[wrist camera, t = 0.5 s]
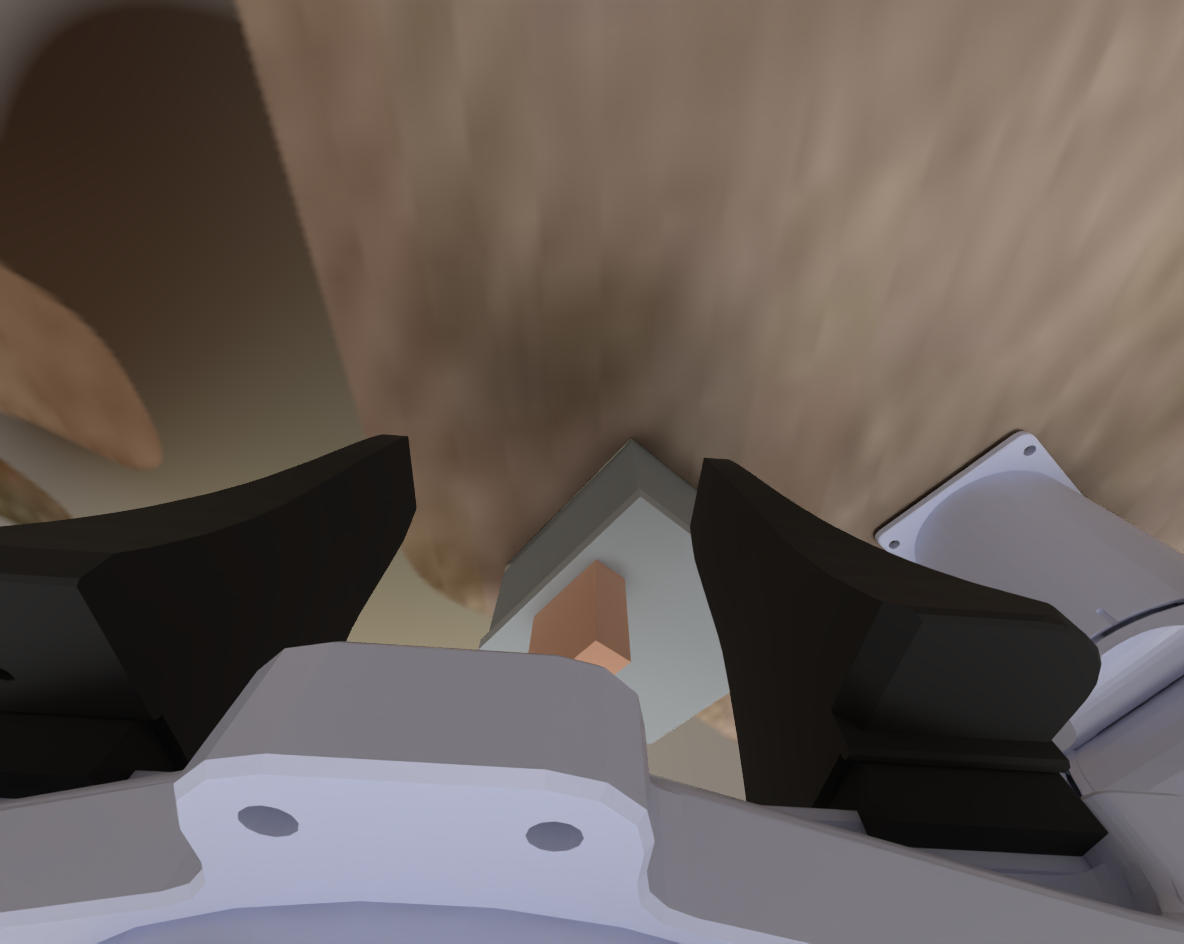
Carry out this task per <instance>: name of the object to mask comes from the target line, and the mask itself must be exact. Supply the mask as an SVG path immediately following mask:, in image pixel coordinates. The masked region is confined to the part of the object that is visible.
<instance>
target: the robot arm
mask: <svg viewBox="0 0 1184 944" xmlns="http://www.w3.org/2000/svg"><path fill="white" fill-rule="evenodd" d="M1028 446H1029V448H1028V449H1027V450H1025V449H1026V448H1027V447H1028ZM1024 450H1025V451H1024ZM416 508H417V507H416V499H415V490H414V482H413V473H412V465H411V457H410V448H409V440H408V436H397V435H378V436H374V437H371V438H368V439H365V440H362V441H360V442H357V443H354V444H352V445H349V446H347V447H344V448H342V449H339V450H337V451H334V452H332V453H329V454H327V455H324V456H322V457H319V458H317V459H314V460H312V461H309V462H306V463H303V464H301V465H298V466H296V467H292V468H290V469H287V470H284V471H281V472H279V473H276V474H273V475H270V476H268V477H265V478H262V479H258V480H255V481H252V482H249V483H246V484H242V485H239V486H235V487H231V488H228V489H224V490H221V491H217V492H213V493H209V494H206V495H201V496H196V497H192V498H187V499H182V500H178V501H173V502H169V503H164V504H159V505H155V506H150V507H145V508H139V509H134V510H128V511H122V512H116V513H110V514H103V515H96V516H89V517H82V518H75V519H67V520H59V521H51V522H41V523H32V524H22V525H12V526H2V527H0V944H1184V555H1183V554H1182V553H1180V552H1178V551H1177V550H1175V549H1173V548H1172V547H1170V546H1168V545H1166V544H1165V543H1163V542H1161V541H1160V540H1158V539H1156V538H1154V537H1153V536H1151V535H1149V534H1148V533H1146V532H1144V531H1143V530H1141V529H1139V528H1137V527H1136V526H1134V525H1132V524H1131V523H1129V522H1127V521H1125V520H1124V519H1122V518H1120V517H1119V516H1117V515H1115V514H1114V513H1112V512H1110V511H1108V510H1107V509H1105V508H1103V507H1102V506H1100V505H1098V504H1096V503H1095V502H1093V501H1091V500H1090V499H1088V498H1086V497H1084V496H1083V495H1082V494H1081V493H1080V491H1079V490H1078V489H1077V488H1076V486H1075V485H1074V484H1073V483H1072V482H1071V480H1070V479H1069V478H1068V477H1067V475H1066V474H1065V473H1064V472H1063V470H1062V469H1061V468H1060V467H1059V465H1058V464H1057V463H1056V462H1055V461H1054V459H1053V458H1052V457H1051V456H1050V454H1049V453H1048V452H1047V451H1046V449H1045V448H1044V447H1043V446H1042V445H1041V443H1040V442H1039V441H1038V440H1037V438H1036V437H1035V436H1034V435H1032V434H1031V433H1029V432H1027V431H1020V432H1017V433H1015V434H1013V435H1012V436H1010V437H1009V438H1007V439H1006V440H1005V441H1003V442H1002V443H1000V444H999V445H998V446H996V447H995V448H993V449H992V450H991V451H989V452H988V453H986V454H985V455H984V456H982V457H981V458H980V459H978V460H977V461H975V462H974V463H973V464H971V465H970V466H968V467H967V468H966V469H964V470H963V471H961V472H960V473H959V474H957V475H956V476H954V477H953V478H952V479H950V480H949V481H947V482H946V483H945V484H943V485H942V486H940V487H939V488H938V489H936V490H935V491H933V492H932V493H931V494H929V495H928V496H926V497H925V498H924V499H922V500H921V501H919V502H918V503H917V504H915V505H914V506H912V507H911V508H910V509H908V510H907V511H905V512H904V513H903V514H901V515H900V516H898V517H897V518H896V519H894V520H893V521H891V522H890V523H889V524H887V525H886V526H884V527H883V528H882V529H880V530H879V531H878V532H877V533H876V535H875V539H876V541H877V542H878V543H879V545H880V546H882V547H883V548H884V549H885V550H886V551H885V550H882V549H880V548H878V547H875V546H873V545H871V544H869V543H866V542H864V541H862V540H860V539H858V538H856V537H854V536H852V535H850V534H848V533H846V532H844V531H842V530H840V529H838V528H836V527H834V526H832V525H830V524H829V523H827V522H825V521H823V520H821V519H820V518H818V517H816V516H815V515H813V514H811V513H810V512H808V511H806V510H805V509H803V508H801V507H800V506H798V505H797V504H795V503H794V502H792V501H790V500H789V499H787V498H786V497H784V496H783V495H781V494H780V493H778V492H777V491H776V490H774V489H773V488H771V487H770V486H768V485H767V484H766V483H764V482H763V481H761V480H760V479H758V478H757V477H756V476H754V475H753V474H751V473H750V472H748V471H747V470H745V469H744V468H743V467H741V466H739V465H738V464H736V463H735V462H733V461H731V460H727V459H713V458H704V461H703V465H702V470H701V475H700V480H699V485H698V489H697V494H696V499H695V504H694V509H693V514H692V518H691V523H690V533H691V540H692V547H693V553H694V559H695V563H696V566H697V570H698V573H699V576H700V580H701V583H702V586H703V589H704V593H705V596H706V599H707V602H708V605H709V609H710V612H711V615H712V618H713V621H714V625H715V628H716V631H717V634H718V638H719V642H720V646H721V649H722V654H723V659H724V664H725V669H726V674H727V680H728V685H729V690H730V696H731V702H732V708H733V714H734V720H735V726H736V732H737V738H738V745H739V752H740V759H741V765H742V773H743V779H744V786H745V794H746V801H744V800H740V799H736V798H733V797H730V796H726V795H723V794H719V793H716V792H712V791H709V790H705V789H702V788H698V787H694V786H691V785H687V784H684V783H680V782H677V781H673V780H670V779H666V778H663V777H659V776H655V775H652V774H649V769H648V758H647V748H646V735H645V725H644V720H643V715H642V711H641V706H640V702H639V697H638V694H637V693H636V692H634V691H633V690H632V689H631V688H629V687H628V686H627V685H626V684H625V683H623V682H622V681H621V680H620V679H618V678H617V677H616V676H615V675H614V674H612V673H611V672H610V671H609V670H607V669H606V668H604V667H602V666H600V665H596V664H592V663H588V662H584V661H580V660H576V659H572V658H568V657H564V656H560V655H552V654H536V653H520V652H504V651H488V650H472V649H455V648H441V647H425V646H409V645H392V644H377V643H361V642H360V643H359V642H346V640H347V638H348V636H349V633H350V631H351V629H352V627H353V625H354V624H355V622H356V620H357V618H358V616H359V614H360V612H361V611H362V609H363V607H364V606H365V604H366V602H367V601H368V599H369V597H370V596H371V594H372V593H373V591H374V589H375V588H376V586H377V584H378V583H379V581H380V579H381V578H382V576H383V574H384V573H385V571H386V570H387V568H388V566H389V565H390V563H391V561H392V560H393V558H394V556H395V554H396V553H397V551H398V549H399V548H400V546H401V544H402V542H403V541H404V538H405V536H406V534H407V531H408V529H409V527H410V524H411V521H412V519H413V516H414V514H415V511H416ZM892 541H894V542H893V543H891V542H892ZM890 543H891V544H890Z"/></svg>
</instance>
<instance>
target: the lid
mask: <svg viewBox="0 0 1184 944" xmlns="http://www.w3.org/2000/svg"><path fill="white" fill-rule="evenodd" d="M478 650H488V651H504V652H520V653H536V654H552V655H560V656H564V657H568V658H572V659H576V660H580V661H584V662H588V663H592V664H596V665H600V666H602V667H604V668H606V669H607V670H609V671H610V672H611V673H612V674H614V675H615V676H616V677H617V678H618V679H620V680H621V681H622V682H623V683H625V684H626V685H627V686H628V687H629V688H631V689H632V690H633V691H634V692H636V693H637V694H638V697H639V702H640V706H641V711H642V715H643V720H644V725H645V735H646V743H648V744H652V743H653V742H655V741H656V740H658V739H659V738H661V737H662V736H664V735H665V734H667V733H668V732H670V731H671V730H673V729H674V728H676V727H678V726H679V725H681V724H682V723H683V722H685V721H686V720H688V719H690V718H691V717H693V716H694V715H696V714H697V713H699V712H700V711H702V710H703V709H705V708H706V707H708V706H709V705H711V704H712V703H714V702H715V701H717V700H718V699H720V698H721V697H723V696H725V695H726V694H728V693H729V692H730V690H729V685H728V680H727V674H726V669H725V664H724V659H723V654H722V649H721V646H720V642H719V638H718V634H717V631H716V628H715V625H714V621H713V618H712V615H711V612H710V609H709V605H708V602H707V599H706V596H705V593H704V589H703V586H702V583H701V580H700V576H699V573H698V570H697V566H696V563H695V559H694V553H693V547H692V540H691V533H690V527H689V526H688V525H687V524H685V523H684V522H683V521H681V520H680V519H679V518H678V517H676V516H675V515H674V514H672V513H671V512H670V511H668V510H667V509H666V508H665V507H663V506H662V505H661V504H659V503H658V502H657V501H655V500H654V499H653V498H652V497H650V496H649V495H648V494H646V493H645V492H644V491H642V490H641V489H640V488H639V489H638V490H636V491H635V492H634V493H633V494H632V495H631V496H630V497H629V498H628V499H627V500H626V501H625V502H624V503H623V504H622V505H621V506H620V507H619V508H618V509H617V510H616V511H615V512H613V513H612V514H611V515H610V516H609V517H608V518H607V519H606V520H605V521H604V522H603V523H602V524H601V525H600V526H599V527H598V528H597V529H596V530H595V531H594V532H593V533H592V534H590V535H589V536H588V537H587V538H586V539H585V540H584V541H583V542H582V543H581V544H580V545H579V546H578V547H577V548H576V549H575V550H574V551H573V552H572V553H571V554H570V555H569V556H568V557H566V558H565V559H564V560H563V561H562V562H561V563H560V564H559V565H558V566H557V567H556V568H555V569H554V570H553V571H552V572H551V573H550V574H549V575H548V576H547V577H546V578H545V579H543V580H542V581H541V582H540V583H539V584H538V585H537V586H536V587H535V588H534V589H533V590H532V591H531V592H530V593H529V594H528V595H527V596H526V597H525V598H524V599H523V600H522V601H520V602H519V603H518V604H517V605H516V606H515V607H514V608H513V609H512V610H511V611H510V612H509V613H508V614H507V615H506V616H505V617H504V618H503V619H502V620H501V621H500V622H499V623H497V624H496V625H495V626H494V627H493V628H492V629H491V630H490V631H489V632H488V633H487V634H486V635H485V636H484V637H483V638H482V639H481V641H480V645H479V649H478Z"/></svg>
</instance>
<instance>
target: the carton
mask: <svg viewBox="0 0 1184 944" xmlns="http://www.w3.org/2000/svg"><path fill="white" fill-rule="evenodd" d="M639 488H640V489H641V490H642V491H644V492H645V493H646V494H648V495H649V496H650V497H652V498H653V499H654V500H655V501H657V502H658V503H659V504H661V505H662V506H663V507H665V508H666V509H667V510H668V511H670V512H671V513H672V514H674V515H675V516H676V517H678V518H679V519H680V520H681V521H683V522H684V523H685V524H687V525H688V526H689V527H690V523H691V518H692V514H693V509H694V504H695V499H696V494H697V490H695V489H694V488H693V487H692V486H690V485H689V484H688V483H687V482H685V481H684V480H683V479H682V478H680V477H679V476H678V475H677V474H675V473H674V472H673V471H672V470H670V469H669V468H668V467H667V466H665V465H664V464H663V463H662V462H660V461H659V460H658V459H657V458H656V457H654V456H653V455H652V454H651V453H649V452H648V451H647V450H646V449H644V448H643V447H642V446H641V445H639V444H638V443H637V442H636V441H634V440H633V439H632V438H630V439H629V440H628V441H627V442H626V443H625V444H624V445H623V446H622V447H621V448H620V449H619V450H618V451H617V452H616V453H615V454H614V455H613V456H612V458H611V459H610V460H609V461H608V462H607V463H606V464H605V465H604V466H603V467H602V468H601V469H600V470H599V471H598V472H597V473H596V474H595V475H594V476H593V477H592V478H591V479H590V480H589V481H588V482H587V483H586V484H585V485H584V486H583V487H582V488H581V489H580V490H579V491H578V492H577V493H576V494H575V495H574V496H573V497H572V498H571V499H570V500H569V502H568V503H567V504H566V505H565V506H564V507H563V508H562V509H561V510H560V511H559V512H558V513H557V514H556V515H555V516H554V517H553V518H552V519H551V520H550V521H549V522H548V523H547V524H546V525H545V526H544V527H543V528H542V529H541V530H540V531H539V532H538V533H537V534H536V535H535V536H534V537H533V538H532V539H531V540H530V541H529V542H528V543H527V544H526V545H525V547H524V548H523V549H522V550H521V551H520V552H519V553H518V554H517V555H516V556H515V557H514V558H513V559H512V560H511V561H510V562H509V563H508V564H507V565H506V568H505V572H504V576H503V580H502V583H501V587H500V591H499V595H498V599H497V603H496V607H495V611H494V615H493V619H492V622H491V627H490V630H491V629H492V628H493V627H494V626H495V625H496V624H497V623H499V622H500V621H501V620H502V619H503V618H504V617H505V616H506V615H507V614H508V613H509V612H510V611H511V610H512V609H513V608H514V607H515V606H516V605H517V604H518V603H519V602H520V601H522V600H523V599H524V598H525V597H526V596H527V595H528V594H529V593H530V592H531V591H532V590H533V589H534V588H535V587H536V586H537V585H538V584H539V583H540V582H541V581H542V580H543V579H545V578H546V577H547V576H548V575H549V574H550V573H551V572H552V571H553V570H554V569H555V568H556V567H557V566H558V565H559V564H560V563H561V562H562V561H563V560H564V559H565V558H566V557H568V556H569V555H570V554H571V553H572V552H573V551H574V550H575V549H576V548H577V547H578V546H579V545H580V544H581V543H582V542H583V541H584V540H585V539H586V538H587V537H588V536H589V535H590V534H592V533H593V532H594V531H595V530H596V529H597V528H598V527H599V526H600V525H601V524H602V523H603V522H604V521H605V520H606V519H607V518H608V517H609V516H610V515H611V514H612V513H613V512H615V511H616V510H617V509H618V508H619V507H620V506H621V505H622V504H623V503H624V502H625V501H626V500H627V499H628V498H629V497H630V496H631V495H632V494H633V493H634V492H635V491H636V490H638V489H639ZM490 630H489V631H490Z"/></svg>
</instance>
